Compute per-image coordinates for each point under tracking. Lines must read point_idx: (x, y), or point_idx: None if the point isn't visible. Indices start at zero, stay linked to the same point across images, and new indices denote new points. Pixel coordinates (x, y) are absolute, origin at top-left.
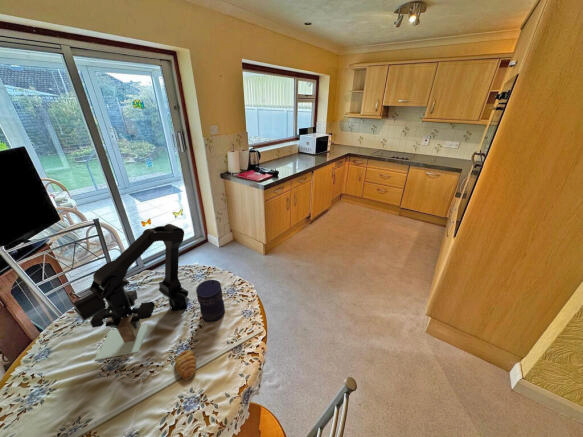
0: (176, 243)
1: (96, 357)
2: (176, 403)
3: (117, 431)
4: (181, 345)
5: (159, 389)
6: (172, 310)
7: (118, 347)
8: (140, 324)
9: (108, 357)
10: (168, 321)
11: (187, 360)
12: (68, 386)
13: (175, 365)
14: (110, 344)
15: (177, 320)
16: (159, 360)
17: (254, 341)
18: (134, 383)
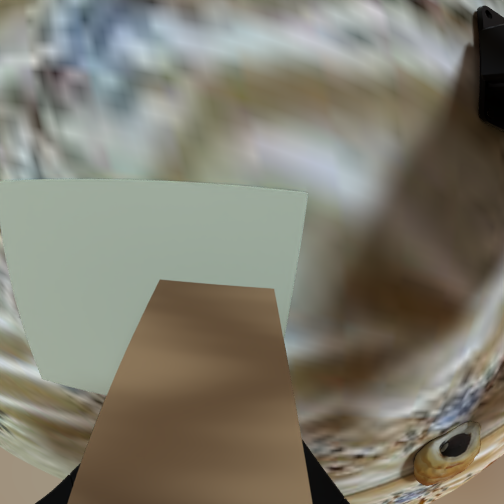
0: None
1: (39, 369)
2: (384, 501)
3: None
4: (461, 395)
5: (353, 492)
6: (492, 120)
7: (122, 358)
8: (274, 300)
9: (100, 392)
10: (457, 219)
11: (457, 473)
12: (33, 426)
13: (419, 472)
14: (57, 316)
15: (499, 233)
16: (368, 444)
17: None
18: None
